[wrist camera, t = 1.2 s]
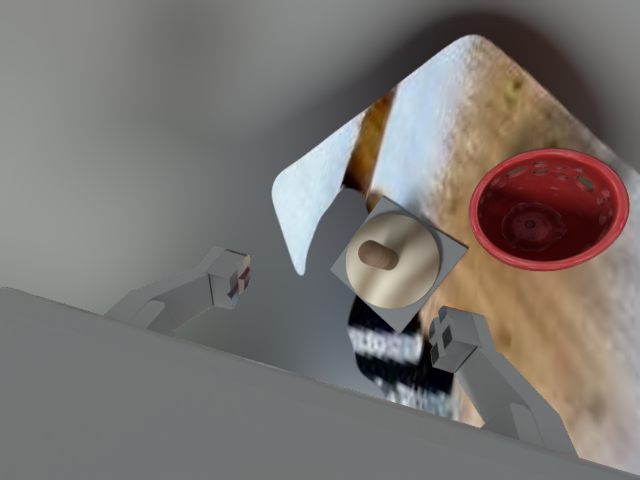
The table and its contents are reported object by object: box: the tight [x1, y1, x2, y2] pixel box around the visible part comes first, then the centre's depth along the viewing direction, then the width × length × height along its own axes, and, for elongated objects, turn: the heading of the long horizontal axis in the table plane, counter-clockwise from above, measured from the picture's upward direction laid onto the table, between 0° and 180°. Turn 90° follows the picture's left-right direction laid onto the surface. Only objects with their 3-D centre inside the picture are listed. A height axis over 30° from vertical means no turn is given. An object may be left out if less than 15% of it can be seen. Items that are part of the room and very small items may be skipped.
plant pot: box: [469, 148, 629, 271], centre depth 33 cm, size 13×13×12 cm
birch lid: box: [346, 214, 440, 308], centre depth 43 cm, size 16×16×10 cm
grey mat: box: [330, 197, 468, 334], centre depth 47 cm, size 17×17×1 cm
